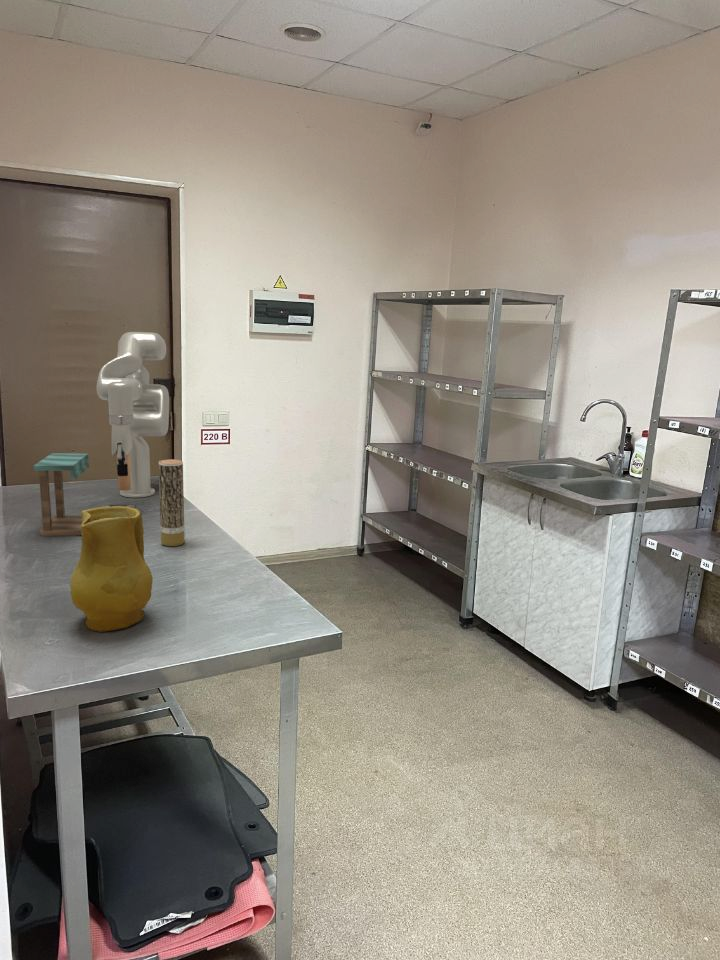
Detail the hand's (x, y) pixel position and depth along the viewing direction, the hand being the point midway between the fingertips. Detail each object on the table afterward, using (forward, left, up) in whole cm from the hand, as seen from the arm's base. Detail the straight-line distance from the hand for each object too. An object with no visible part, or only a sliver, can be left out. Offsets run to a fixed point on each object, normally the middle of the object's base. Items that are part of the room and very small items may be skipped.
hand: (124, 473), depth 225 cm
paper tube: (+30, +19, -15) cm, 38 cm away
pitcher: (+82, +13, -15) cm, 84 cm away
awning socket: (+14, -7, -14) cm, 21 cm away
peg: (0, 0, -5) cm, 5 cm away
